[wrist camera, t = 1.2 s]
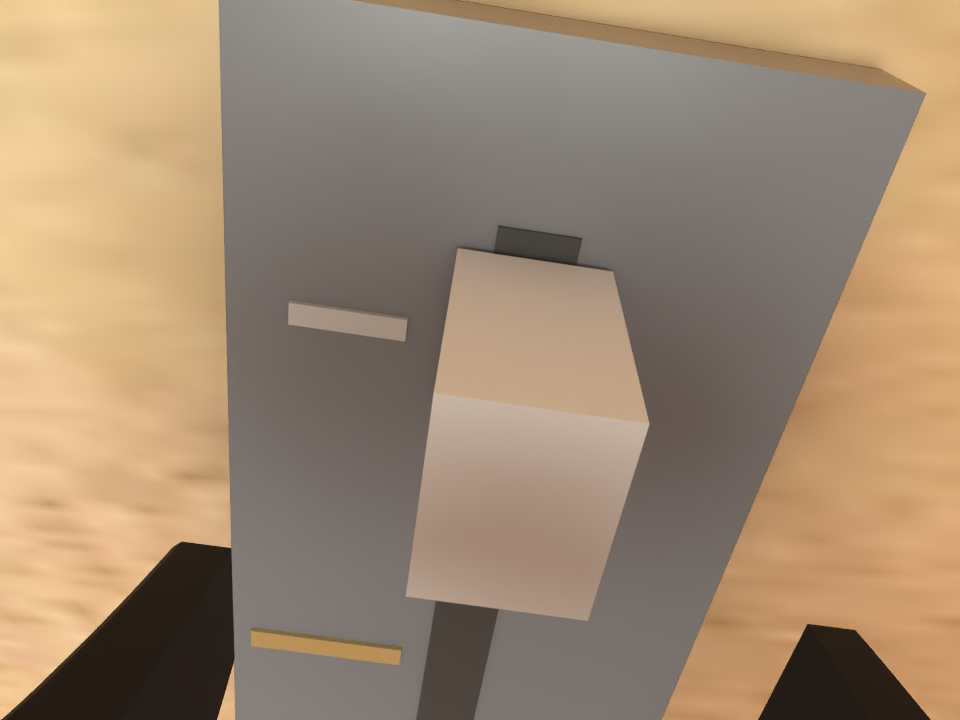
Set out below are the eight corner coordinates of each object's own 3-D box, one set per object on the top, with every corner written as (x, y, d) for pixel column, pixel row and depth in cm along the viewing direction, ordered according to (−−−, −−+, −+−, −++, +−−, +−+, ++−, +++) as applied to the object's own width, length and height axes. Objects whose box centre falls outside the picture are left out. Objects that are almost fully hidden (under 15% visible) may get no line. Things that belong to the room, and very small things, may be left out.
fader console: (880, 69, 15) (929, 95, 14) (590, 818, 29) (594, 882, 27) (253, -33, 15) (215, -21, 13) (255, 776, 28) (236, 838, 26)
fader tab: (613, 271, 15) (649, 423, 11) (571, 437, 17) (588, 620, 13) (457, 248, 15) (433, 393, 11) (433, 418, 17) (405, 596, 13)
